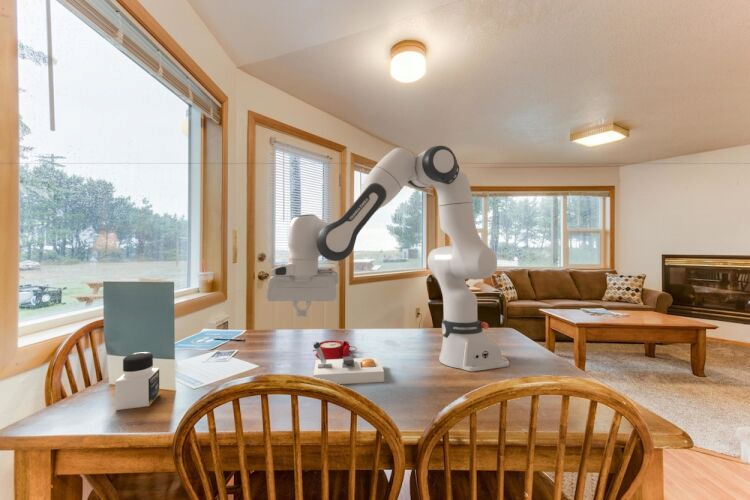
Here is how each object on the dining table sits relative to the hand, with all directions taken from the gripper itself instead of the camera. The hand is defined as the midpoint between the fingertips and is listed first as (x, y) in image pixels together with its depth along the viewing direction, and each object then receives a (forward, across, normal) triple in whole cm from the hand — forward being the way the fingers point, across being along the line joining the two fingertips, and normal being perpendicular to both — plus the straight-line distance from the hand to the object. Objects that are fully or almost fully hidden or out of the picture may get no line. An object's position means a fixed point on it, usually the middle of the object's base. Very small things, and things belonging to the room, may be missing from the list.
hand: (302, 316), depth 95 cm
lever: (+15, -7, 0) cm, 16 cm away
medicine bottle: (+20, +39, +9) cm, 45 cm away
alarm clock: (+18, -10, -20) cm, 29 cm away
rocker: (+14, -14, 0) cm, 20 cm away
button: (+17, -20, 0) cm, 27 cm away
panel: (+18, -14, 0) cm, 23 cm away
